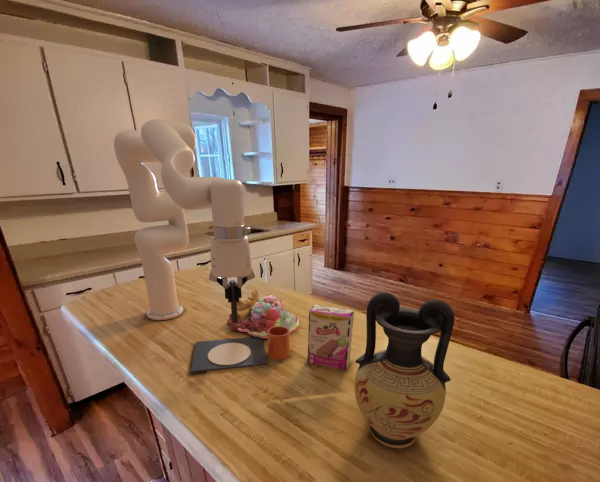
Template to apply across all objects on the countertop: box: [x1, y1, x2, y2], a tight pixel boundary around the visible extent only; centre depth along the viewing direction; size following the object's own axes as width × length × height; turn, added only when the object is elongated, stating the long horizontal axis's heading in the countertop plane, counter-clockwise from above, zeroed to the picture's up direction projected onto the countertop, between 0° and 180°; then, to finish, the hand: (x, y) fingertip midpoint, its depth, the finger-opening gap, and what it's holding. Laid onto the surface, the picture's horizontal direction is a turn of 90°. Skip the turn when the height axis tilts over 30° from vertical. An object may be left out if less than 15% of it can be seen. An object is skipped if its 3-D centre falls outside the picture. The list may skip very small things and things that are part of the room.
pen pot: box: [267, 326, 291, 361], centre depth 96 cm, size 6×6×8 cm
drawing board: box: [190, 336, 268, 375], centre depth 97 cm, size 16×20×1 cm
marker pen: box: [228, 279, 238, 326], centre depth 91 cm, size 2×2×13 cm
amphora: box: [354, 291, 456, 449], centre depth 64 cm, size 18×17×30 cm
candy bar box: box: [307, 304, 355, 371], centre depth 90 cm, size 11×5×16 cm, turn 71°
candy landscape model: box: [226, 289, 299, 340], centre depth 115 cm, size 25×24×9 cm
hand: (233, 300), depth 91 cm, fingers closed on marker pen, 1 cm apart
